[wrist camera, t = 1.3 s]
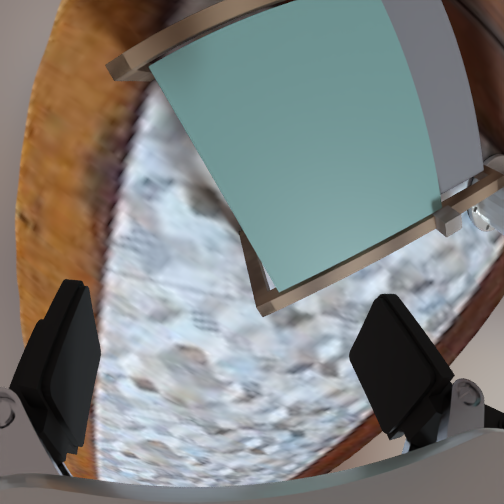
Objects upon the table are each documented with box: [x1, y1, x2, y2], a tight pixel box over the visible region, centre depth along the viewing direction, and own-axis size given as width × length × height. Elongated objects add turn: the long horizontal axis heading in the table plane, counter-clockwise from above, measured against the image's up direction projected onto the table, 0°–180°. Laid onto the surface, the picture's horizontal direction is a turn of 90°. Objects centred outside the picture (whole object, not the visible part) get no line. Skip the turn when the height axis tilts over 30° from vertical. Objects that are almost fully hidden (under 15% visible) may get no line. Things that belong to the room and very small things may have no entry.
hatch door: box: [149, 0, 484, 292], centre depth 22 cm, size 22×18×8 cm
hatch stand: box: [105, 0, 504, 317], centre depth 23 cm, size 26×21×14 cm
